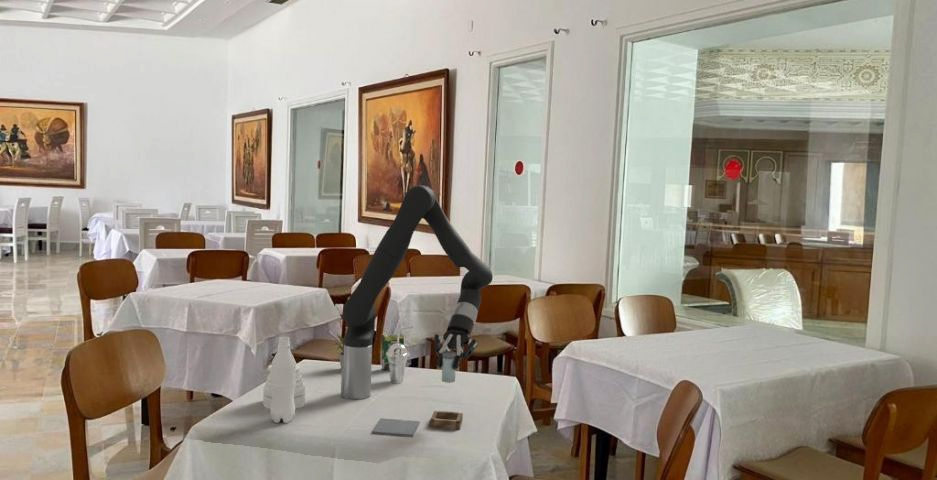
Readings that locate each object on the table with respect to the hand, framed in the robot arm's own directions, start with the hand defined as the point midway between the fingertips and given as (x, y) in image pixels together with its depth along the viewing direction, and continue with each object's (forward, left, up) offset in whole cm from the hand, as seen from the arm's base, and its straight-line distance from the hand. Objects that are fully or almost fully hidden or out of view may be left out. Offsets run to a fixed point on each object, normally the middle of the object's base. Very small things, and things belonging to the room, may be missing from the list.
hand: (446, 367), depth 229 cm
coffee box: (-27, +60, -18) cm, 68 cm away
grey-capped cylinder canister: (+1, +2, -5) cm, 5 cm away
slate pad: (-13, -5, -18) cm, 23 cm away
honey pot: (-52, +10, -18) cm, 56 cm away
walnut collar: (+1, +2, -18) cm, 18 cm away
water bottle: (-47, -6, -18) cm, 51 cm away
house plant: (-44, +56, -18) cm, 74 cm away
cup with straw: (-22, +44, -18) cm, 52 cm away
